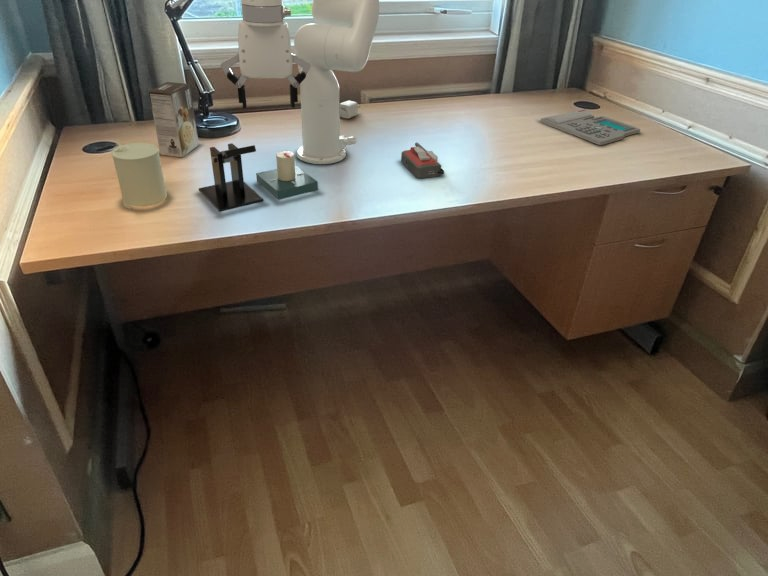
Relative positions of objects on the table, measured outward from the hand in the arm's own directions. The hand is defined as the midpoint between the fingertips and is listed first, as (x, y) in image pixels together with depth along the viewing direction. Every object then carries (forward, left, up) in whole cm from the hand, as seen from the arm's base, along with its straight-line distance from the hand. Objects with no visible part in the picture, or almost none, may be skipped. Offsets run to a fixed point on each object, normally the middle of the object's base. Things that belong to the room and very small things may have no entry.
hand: (268, 106), depth 119 cm
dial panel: (-4, -3, -21) cm, 21 cm away
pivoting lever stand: (+9, -4, -21) cm, 23 cm away
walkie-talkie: (-40, 0, -21) cm, 45 cm away
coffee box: (+9, -38, -21) cm, 44 cm away
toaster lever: (+9, 0, -10) cm, 13 cm away
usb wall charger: (-45, -41, -21) cm, 64 cm away
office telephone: (-103, +4, -21) cm, 105 cm away
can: (+25, -13, -21) cm, 35 cm away
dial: (-4, -3, -18) cm, 18 cm away
